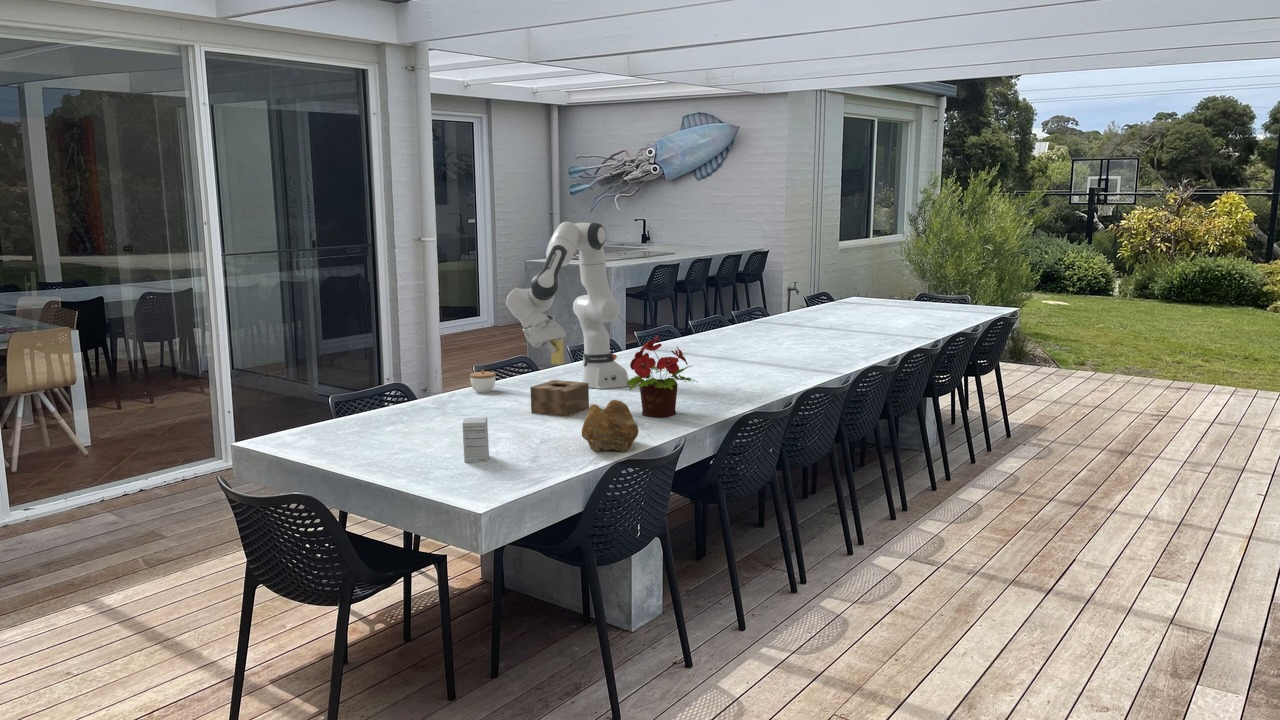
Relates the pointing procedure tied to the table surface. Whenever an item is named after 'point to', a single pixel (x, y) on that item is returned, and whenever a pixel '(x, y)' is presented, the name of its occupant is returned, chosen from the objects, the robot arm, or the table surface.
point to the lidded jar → (482, 381)
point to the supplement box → (475, 439)
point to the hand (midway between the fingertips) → (558, 350)
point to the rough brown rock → (610, 427)
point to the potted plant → (656, 381)
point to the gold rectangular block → (559, 355)
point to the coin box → (559, 398)
